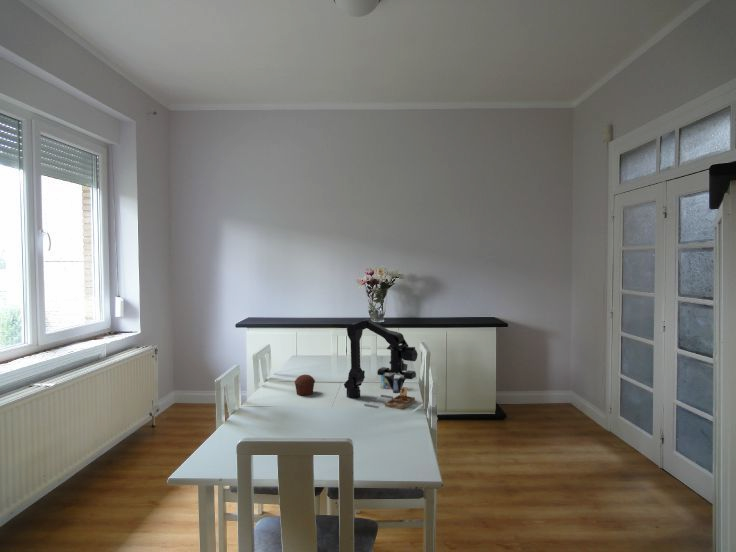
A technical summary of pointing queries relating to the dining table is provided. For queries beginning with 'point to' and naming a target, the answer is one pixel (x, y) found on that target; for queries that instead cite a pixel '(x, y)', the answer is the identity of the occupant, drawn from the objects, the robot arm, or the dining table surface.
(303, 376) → the muffin
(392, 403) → the tray
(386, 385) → the mug
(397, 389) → the cylinder
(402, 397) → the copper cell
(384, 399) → the cradle
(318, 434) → the dining table surface
